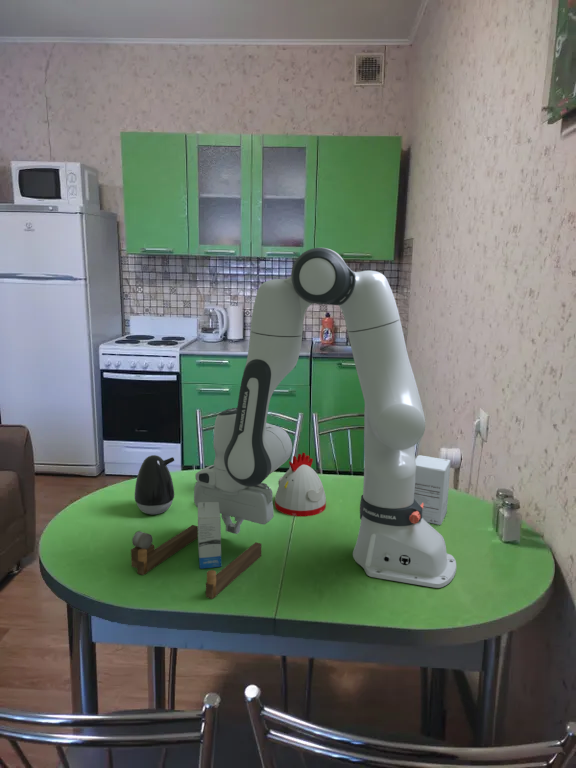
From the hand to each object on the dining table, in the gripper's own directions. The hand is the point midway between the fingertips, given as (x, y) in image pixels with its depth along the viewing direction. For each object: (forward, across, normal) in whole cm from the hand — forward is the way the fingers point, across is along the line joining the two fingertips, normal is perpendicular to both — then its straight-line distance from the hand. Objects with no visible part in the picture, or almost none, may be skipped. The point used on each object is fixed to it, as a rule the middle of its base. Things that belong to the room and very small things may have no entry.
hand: (233, 531), depth 130 cm
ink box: (+2, 0, +10) cm, 10 cm away
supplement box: (+2, -37, -37) cm, 52 cm away
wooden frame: (+2, +1, +13) cm, 13 cm away
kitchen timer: (+2, -5, -26) cm, 26 cm away
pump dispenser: (+2, +27, -4) cm, 27 cm away
